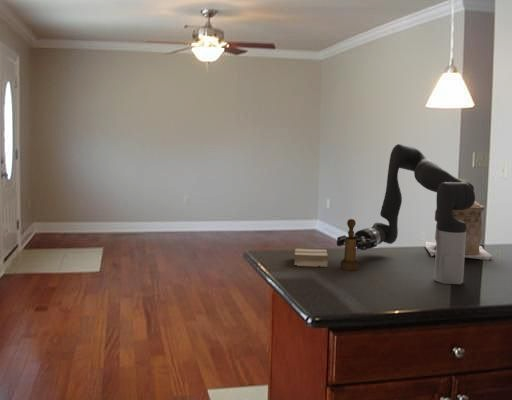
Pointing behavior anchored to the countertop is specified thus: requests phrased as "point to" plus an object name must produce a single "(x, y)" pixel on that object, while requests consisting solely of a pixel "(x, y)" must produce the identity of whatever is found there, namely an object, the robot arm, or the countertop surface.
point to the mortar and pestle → (350, 249)
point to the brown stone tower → (467, 231)
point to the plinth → (311, 257)
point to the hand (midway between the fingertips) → (347, 244)
